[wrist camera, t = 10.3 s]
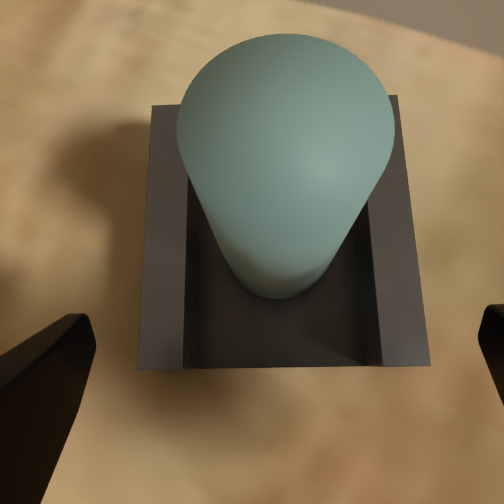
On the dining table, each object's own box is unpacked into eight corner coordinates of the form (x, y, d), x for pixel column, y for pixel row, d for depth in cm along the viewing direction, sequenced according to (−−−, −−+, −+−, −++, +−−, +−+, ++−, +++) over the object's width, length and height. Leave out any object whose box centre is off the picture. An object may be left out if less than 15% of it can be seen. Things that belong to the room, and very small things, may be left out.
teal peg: (258, 319, 16) (245, 267, 8) (204, 228, 18) (140, 94, 9) (352, 263, 17) (440, 154, 8) (294, 177, 18) (316, 2, 9)
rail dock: (408, 365, 16) (438, 365, 13) (155, 369, 16) (129, 370, 14) (383, 136, 19) (404, 94, 16) (165, 144, 19) (145, 106, 16)
